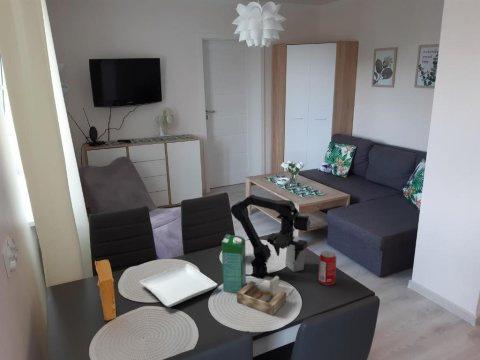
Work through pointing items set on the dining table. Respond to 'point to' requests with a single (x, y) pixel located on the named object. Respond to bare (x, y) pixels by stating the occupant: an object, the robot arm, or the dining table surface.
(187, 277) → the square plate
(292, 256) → the skincare box
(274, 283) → the lid
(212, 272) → the dining table surface
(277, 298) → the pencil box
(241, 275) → the milk carton
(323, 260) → the red food canister
